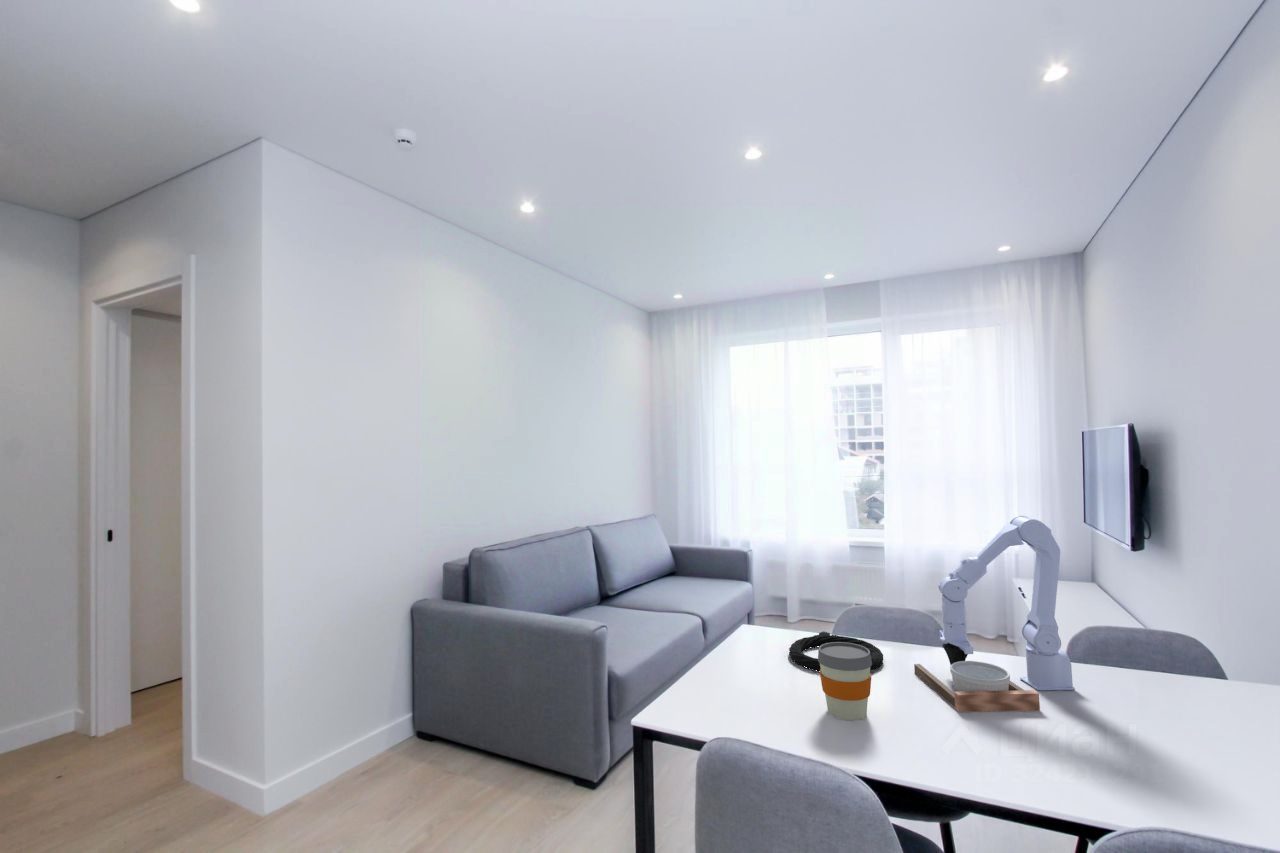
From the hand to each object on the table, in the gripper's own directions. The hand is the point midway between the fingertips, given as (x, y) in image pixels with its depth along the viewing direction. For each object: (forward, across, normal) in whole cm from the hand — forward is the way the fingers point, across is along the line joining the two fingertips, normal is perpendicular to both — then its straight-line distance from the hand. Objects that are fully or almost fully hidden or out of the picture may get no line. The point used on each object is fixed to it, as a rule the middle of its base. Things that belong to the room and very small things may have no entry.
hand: (957, 672), depth 161 cm
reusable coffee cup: (+2, +19, -36) cm, 41 cm away
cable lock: (+2, -19, -28) cm, 34 cm away
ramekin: (+2, +12, 0) cm, 12 cm away
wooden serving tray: (+2, +7, 0) cm, 7 cm away
